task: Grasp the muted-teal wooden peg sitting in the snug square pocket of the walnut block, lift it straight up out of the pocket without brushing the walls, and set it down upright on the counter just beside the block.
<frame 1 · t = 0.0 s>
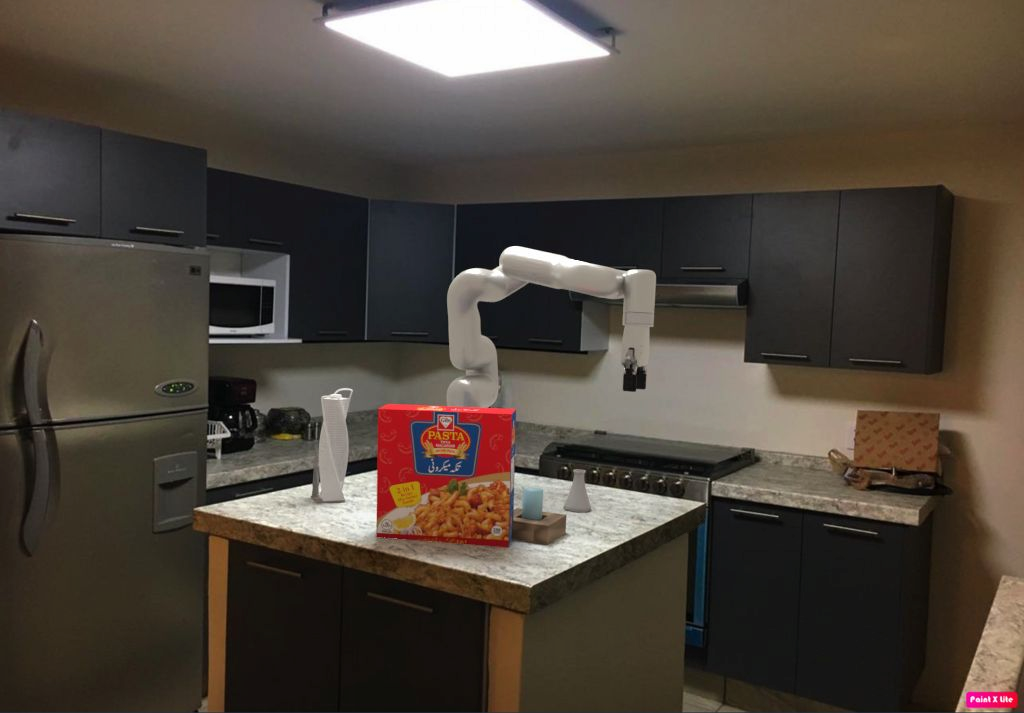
hand: (634, 390, 207), 31 cm above the worktop, fingers open, 9 cm apart
walnut pocket block: (531, 534, 186), on the worktop
flask: (577, 510, 213), on the worktop
pasta box: (445, 540, 180), on the worktop, touching walnut pocket block
skyscraper: (331, 500, 211), on the worktop
teal peg: (532, 512, 186), in the walnut pocket block
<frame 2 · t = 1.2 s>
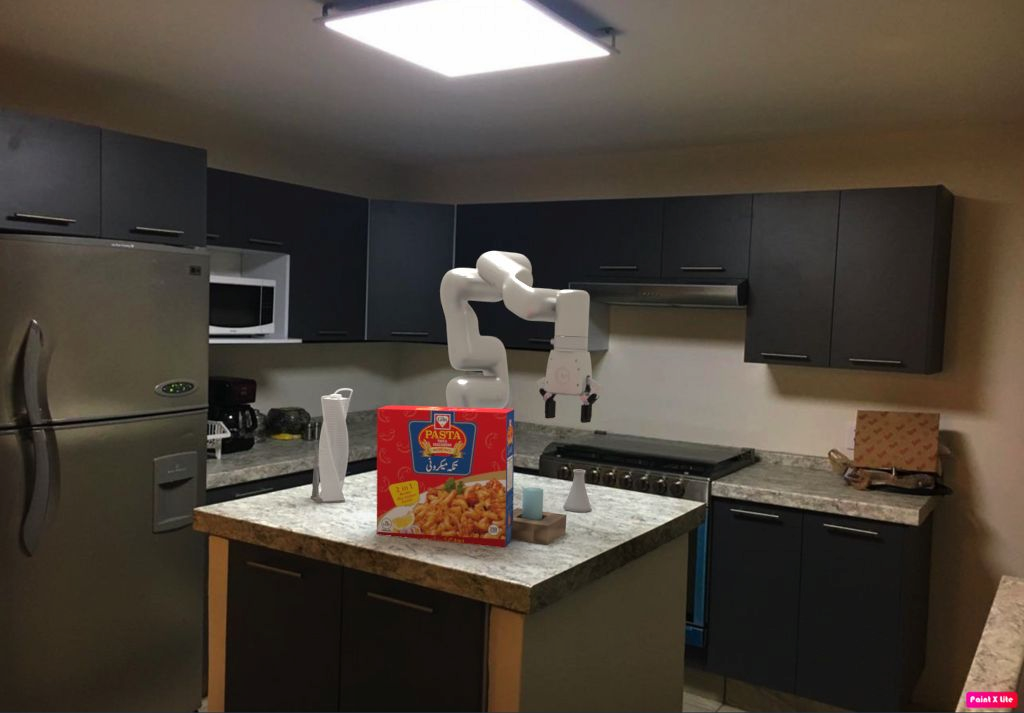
hand: (567, 420, 191), 25 cm above the worktop, fingers open, 9 cm apart
pasta box: (445, 539, 181), on the worktop, touching walnut pocket block
everything else where it was.
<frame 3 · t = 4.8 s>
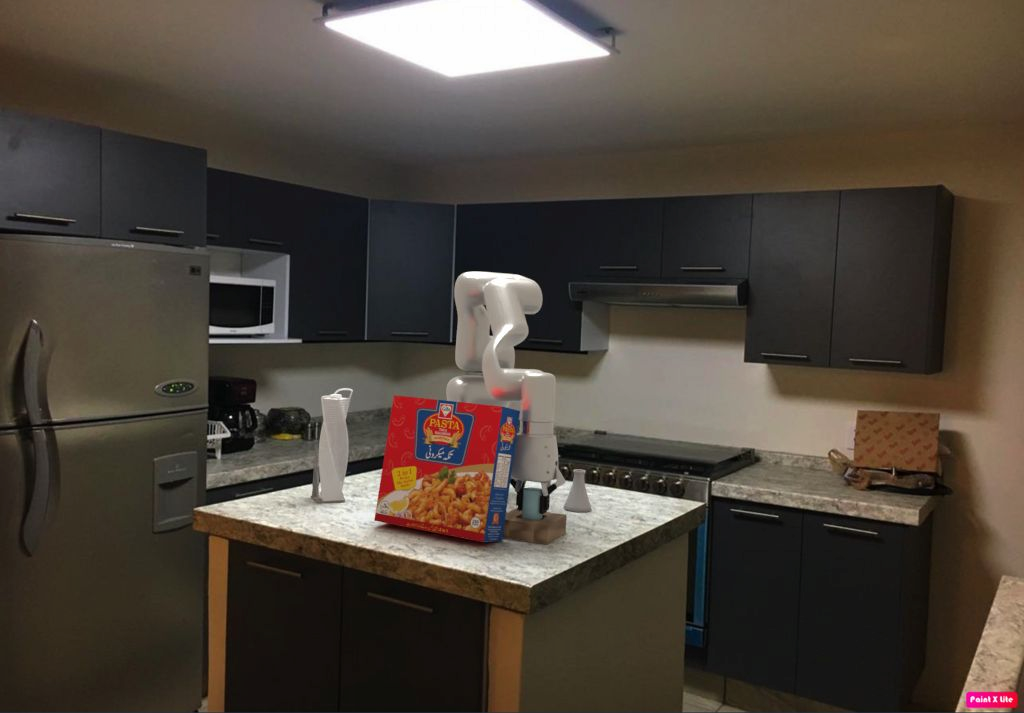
hand: (532, 510, 186), 5 cm above the worktop, fingers closed on teal peg, 4 cm apart
pasta box: (436, 531, 183), on the worktop
teal peg: (532, 512, 186), in the walnut pocket block, touching gripper
everything else where it was.
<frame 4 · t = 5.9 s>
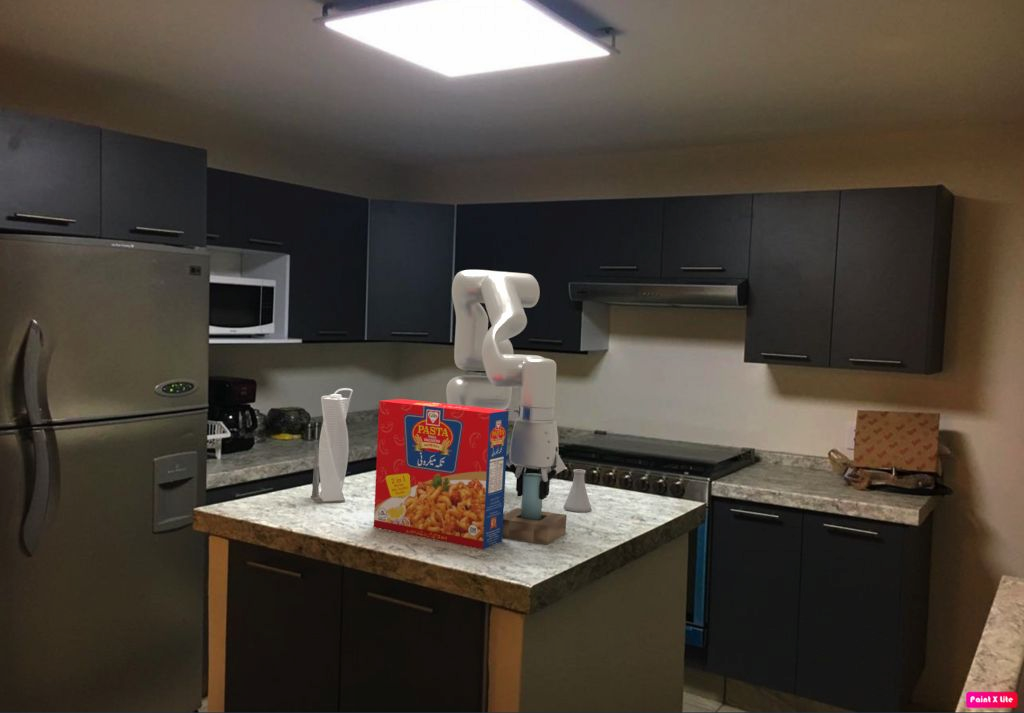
hand: (532, 495, 186), 8 cm above the worktop, fingers closed on teal peg, 4 cm apart
teal peg: (532, 497, 186), point 8 cm above the worktop, touching gripper
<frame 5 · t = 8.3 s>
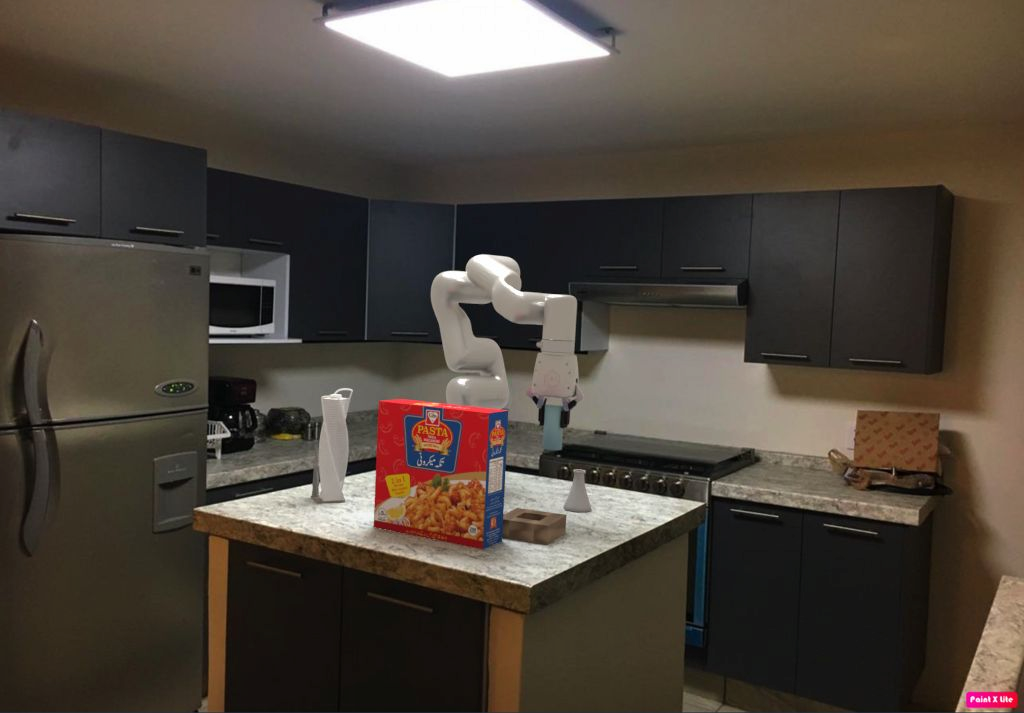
hand: (553, 425, 196), 23 cm above the worktop, fingers closed on teal peg, 4 cm apart
teal peg: (553, 427, 196), point 22 cm above the worktop, touching gripper
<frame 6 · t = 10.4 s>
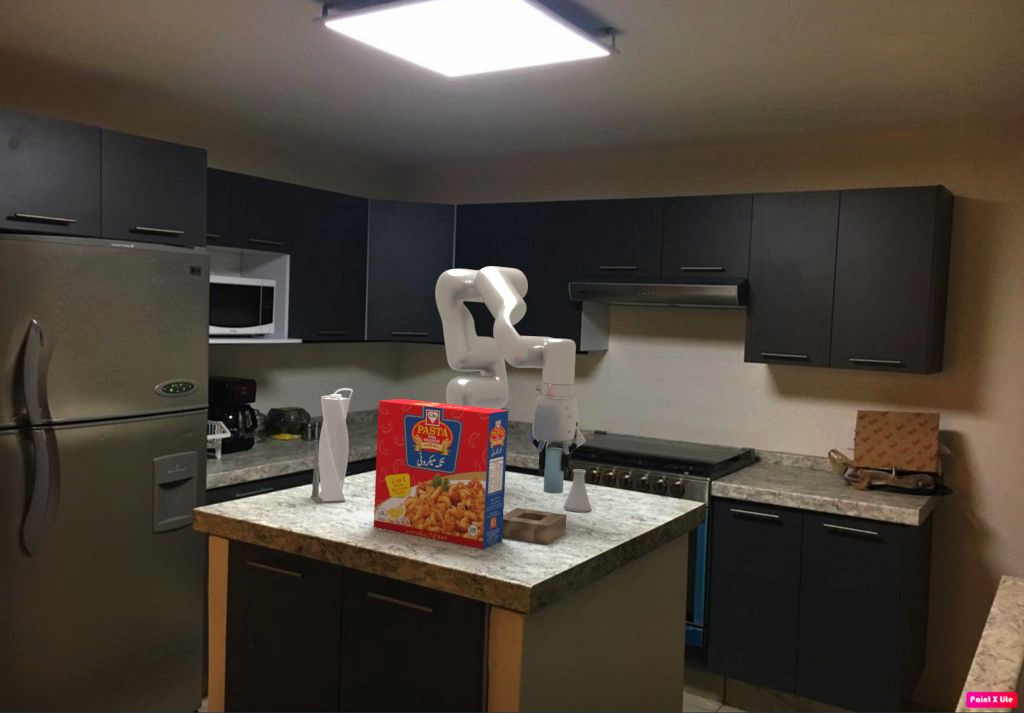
hand: (554, 468, 197), 13 cm above the worktop, fingers closed on teal peg, 4 cm apart
teal peg: (554, 470, 197), point 12 cm above the worktop, touching gripper
when the fingers open (7 cm above the worktop, at t = 12.3 s): teal peg drops 2 cm, on the worktop.
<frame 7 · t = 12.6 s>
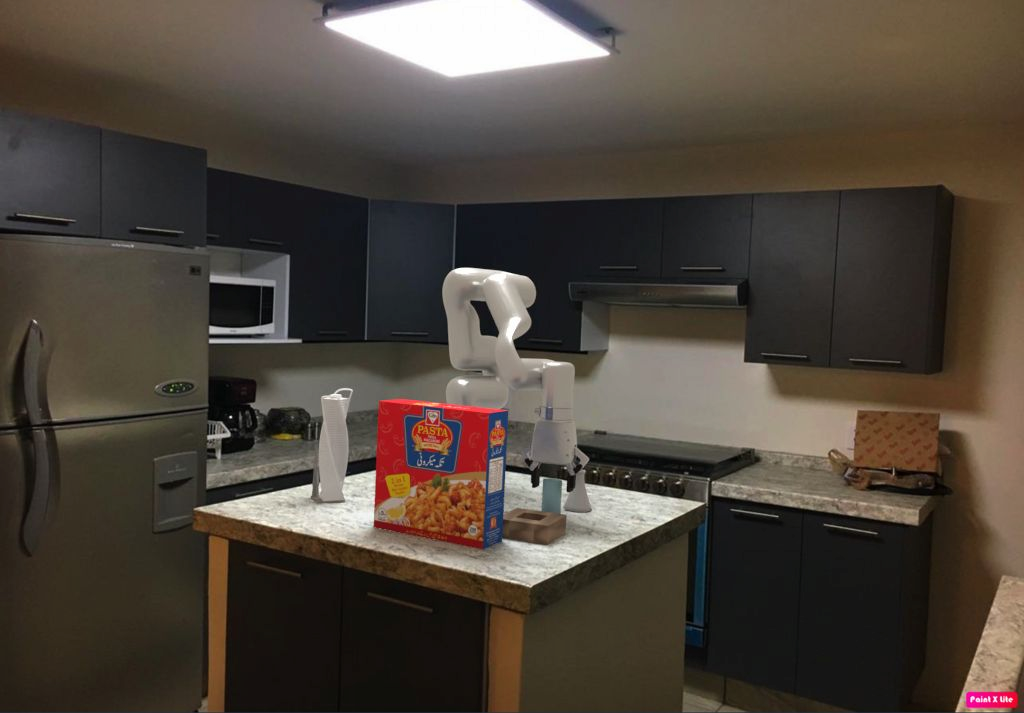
hand: (552, 488, 198), 8 cm above the worktop, fingers open, 8 cm apart
teal peg: (551, 501, 198), on the worktop
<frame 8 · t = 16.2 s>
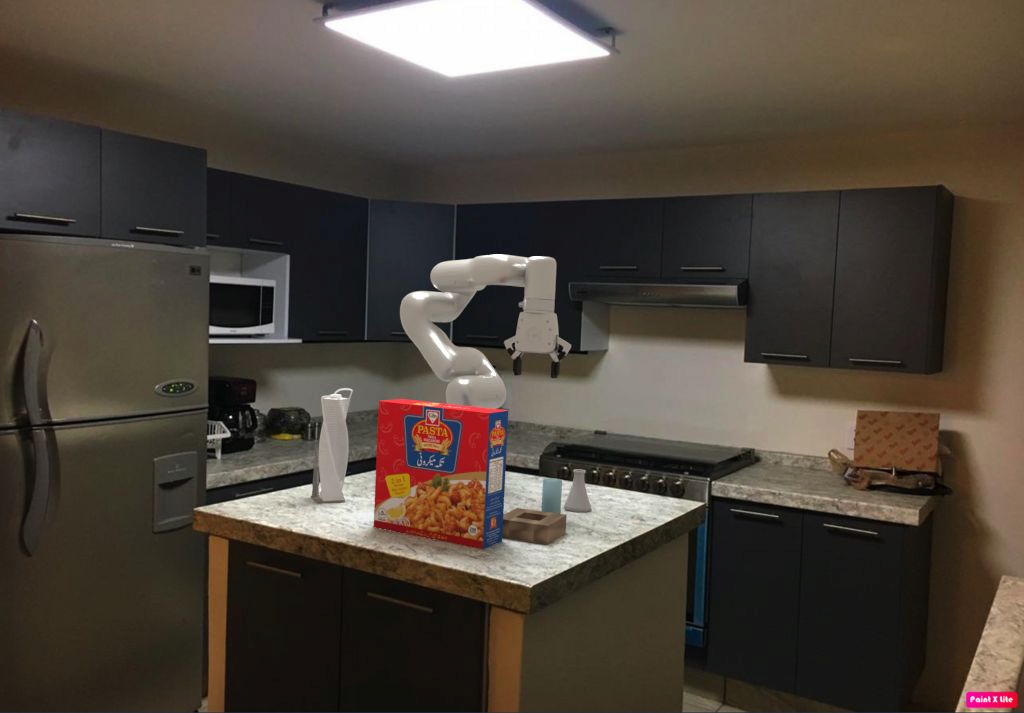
hand: (535, 376, 208), 33 cm above the worktop, fingers open, 9 cm apart
at the end: teal peg inside the target area (0.1 cm from its centre), on the worktop; teal peg tilted 0°; teal peg touching worktop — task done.
